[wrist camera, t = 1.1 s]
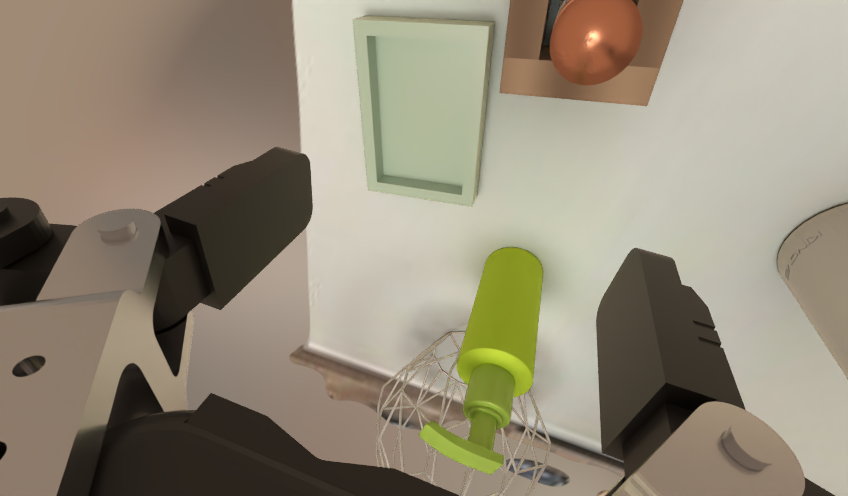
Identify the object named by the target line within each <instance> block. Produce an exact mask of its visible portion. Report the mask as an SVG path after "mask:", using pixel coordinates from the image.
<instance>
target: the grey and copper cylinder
mask: <svg viewBox="0 0 848 496" xmlns="http://www.w3.org/2000/svg"><path fill="white" fill-rule="evenodd" d="M642 32H643V23H642V18H641V15H640V12H639V10H638V8H637V6H636V5H635V3H634V2H633V1H632V0H561V2H560V6H559V9H558V13H557V16H556V20H555V23H554V27H553V30H552V34H551V38H550V56H551V59H552V62H553V65H554V67H555V68H556V70H557V71H558V73H559V74H560V75H561V76H562V77H563V78H565V79H566V80H568V81H570V82H572V83H575V84H578V85H596V84H600V83H603V82H606V81H608V80H610V79H612V78H614V77H615V76H617V75H618V74H619V73H621V72H622V71H623V70H624V69H625V68H626V67H627V66H628V65H629V64H630V62H631V61H632V60H633V58H634V56H635V55H636V53H637V51H638V49H639V46H640V43H641V39H642Z"/></svg>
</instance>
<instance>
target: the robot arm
mask: <svg viewBox="0 0 848 496" xmlns="http://www.w3.org/2000/svg"><path fill="white" fill-rule="evenodd" d="M312 209H313V205H312V187H311V170H310V161H309V159H308V157H307V156H306V155H305V154H302V153H298V152H295V151H291V150H287V149H284V148H280V147H275V148H273V149H271V150H269V151H268V152H266V153H264V154H263V155H261V156H260V157H258V158H256V159H255V160H253V161H250V162H246V163H243V164H239V165H236V166H233V167H231V168H230V169H228V170H226V171H225V172H223V173H221V174H220V175H218V177H217V178H213V179H211V180H209V181H207V182H206V183H205V185H204V186H202V185H201V186H199V187H197V188H196V189H194V190H192V191H190V192H189V193H187V194H185V195H184V196H182V197H180V198H179V199H177V200H175V201H173V202H172V203H170V204H168V205H167V206H165V207H163V208H162V209H160V210H158V211H156V212H155V213H152V212H149V211H146V210H141V209H120V210H114V211H109V212H105V213H102V214H99V215H96V216H94V217H91V218H89V219H87V220H86V221H84V222H83V223H81V224H79V225H78V226H72V225H59V224H49V223H48V221H47V219H46V218H45V216H44V214H43V212H42V211H41V209H40V207H39V205H38V204H37V203H35V202H34V201H31V200H29V199H24V198H0V496H459V495H457V494H454V493H452V492H450V491H447V490H445V489H442V488H440V487H438V486H435V485H433V484H430V483H428V482H425V481H423V480H421V479H418V478H415V477H413V476H411V475H408V474H406V473H404V472H401V471H399V470H396V469H394V468H385V467H375V466H367V465H358V464H350V463H340V462H332V461H325V460H321V459H319V458H316V457H315V456H314V455H312V454H311V453H310V452H309V451H308V450H307V449H305V448H304V447H303V446H302V445H301V444H299V443H298V442H297V441H296V440H295V439H294V438H292V437H291V436H290V435H289V434H288V433H286V432H285V431H284V430H283V429H282V428H280V427H279V426H278V425H277V424H276V423H274V422H273V421H272V420H271V419H270V418H269V417H267V416H265V415H263V414H260V413H258V412H256V411H253V410H251V409H248V408H246V407H244V406H241V405H239V404H236V403H234V402H231V401H229V400H227V399H224V398H222V397H219V396H217V395H215V394H212V393H211V394H210V395H209V396H208V397H207V398H206V399H205V401H204V402H203V403H202V404H201V405H200V406H199V408H198V409H197V410H188V404H187V398H186V382H187V374H188V366H189V358H190V350H191V341H192V334H193V326H194V315H193V311H192V309H193V308H194V307H195V306H197V305H198V304H199V303H203V304H205V305H208V306H211V307H214V308H216V309H219V310H221V309H222V308H223V307H224V306H225V305H226V304H227V303H229V301H231V299H232V298H234V297H235V296H236V295H237V294H238V293H239V292H240V291H241V290H242V289H243V288H244V287H245V286H246V285H247V284H248V283H249V282H250V281H251V280H252V279H253V278H254V277H255V276H257V274H259V273H260V272H261V271H262V270H263V269H264V268H265V267H266V266H267V265H268V264H269V263H270V262H271V261H272V260H273V259H274V258H275V257H276V256H277V255H278V254H279V253H280V252H281V251H282V250H283V249H284V248H285V247H286V246H287V245H289V243H291V242H292V241H293V240H294V239H295V238H296V237H297V236H298V235H299V234H300V233H301V232H302V231H303V230H304V229H305V228H306V226H307V225H308V223H309V221H310V218H311V215H312ZM777 265H778V271H779V273H780V275H781V276H782V278H783V280H784V281H785V283H786V285H787V286H788V288H789V289H790V291H791V292H792V294H793V295H794V297H795V298H796V300H797V301H798V303H799V304H800V306H801V308H802V310H803V311H804V313H805V314H806V316H807V317H808V319H809V320H810V322H811V323H812V325H813V326H814V328H815V330H816V331H817V333H818V334H819V336H820V337H821V339H822V340H823V342H824V343H825V345H826V346H827V348H828V349H829V351H830V353H831V354H832V356H833V357H834V359H835V360H836V362H837V363H838V365H839V366H840V368H841V369H842V371H843V372H844V374H845V376H846V377H847V379H848V204H845V205H841V206H838V207H835V208H832V209H830V210H828V211H825V212H823V213H820V214H818V215H817V216H815V217H813V218H811V219H810V220H808V221H806V222H805V223H803V224H802V225H801V226H800V227H798V228H797V229H796V230H795V231H793V232H792V233H791V235H790V236H789V237H788V238H787V239H786V240H785V242H784V243H783V245H782V247H781V249H780V251H779V254H778V259H777ZM596 327H597V351H598V374H599V398H600V421H601V445H602V453H604V454H607V455H609V456H612V457H615V458H617V459H620V460H623V461H624V470H625V476H624V477H623V478H622V479H620V481H618V482H617V483H616V484H615V485H614V486H613V488H612V489H611V490H610V491H609V492H608V493H607V494H606V495H605V496H835V495H833V494H831V493H830V492H828V491H826V490H825V489H823V488H821V487H820V486H818V485H816V484H815V483H813V482H811V481H810V480H808V479H807V478H805V477H804V474H803V470H802V468H801V465H800V463H799V461H798V460H797V458H796V456H795V454H794V453H793V452H792V450H791V449H790V447H789V446H788V445H787V444H786V443H785V441H784V440H783V439H782V438H781V437H780V436H779V435H778V434H777V433H776V432H775V431H774V430H773V429H772V428H771V427H769V426H768V425H767V424H766V423H765V422H763V421H762V420H760V419H759V418H758V417H756V416H754V415H753V414H751V413H749V412H748V411H746V410H745V407H744V404H743V402H742V399H741V396H740V393H739V391H738V388H737V385H736V382H735V380H734V377H733V374H732V372H731V369H730V366H729V363H728V361H727V358H726V355H725V353H724V350H723V348H721V347H720V345H721V342H720V339H719V336H718V333H717V331H715V330H714V328H715V325H714V323H713V320H712V317H711V314H710V312H709V309H708V307H707V306H706V304H705V303H704V302H703V301H702V300H701V298H700V297H699V296H698V295H697V294H696V292H695V291H694V290H693V289H692V288H691V287H688V286H685V285H682V284H681V281H680V277H679V274H678V271H677V268H676V265H675V262H674V260H673V259H672V258H670V257H667V256H663V255H660V254H656V253H653V252H649V251H645V250H642V249H638V248H634V249H633V250H631V251H630V253H629V254H628V255H627V257H626V259H625V260H624V262H623V264H622V265H621V267H620V269H619V270H618V272H617V274H616V275H615V277H614V279H613V281H612V282H611V284H610V286H609V287H608V289H607V291H606V292H605V294H604V296H603V298H602V300H601V302H600V305H599V308H598V312H597V319H596Z"/></svg>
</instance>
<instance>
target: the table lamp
mask: <svg viewBox="0 0 848 496" xmlns="http://www.w3.org/2000/svg"><path fill="white" fill-rule="evenodd" d="M462 333H466V331H463V332H450V333H448V334H447V335H445V336H444V337H442V338H441V339H439V340H438V341H436V342H435V343H434V344H432V345H431V346H430V347H429V348H427V349H426V350H425V351H424V352H422V353H421V354H420V355H419V356H417V357H416V358H415V359H414V360H413V361H411V362H410V363H409V364H408V365H406V366H405V367H404V368H403V369H402V370H400V371H399V372H398V373H397V374H396V375H395V376H394V377H392V378H391V379H390V380H389V381H388V382H387V383H385V384H384V385H383V386H382V389H381V393H380V397H379V401H378V406H377V426H376V461H377V465H378V467H380V464H379V460H378V447H379V452H380V457H381V462H382V467H385V465H384V460H383V455H382V450H381V446H380V442H381V445H382V449H383V452H384V455H385V458H386V462H387V464H388V468H390V464H389V461H388V458H387V455H386V452H385V449H384V446H383V442H382V439H381V436H382V434H383V432H384V430H385V428H386V426H387V424H388V422H389V420H390V418H391V416H392V414H393V412H394V410H395V409H400V415H399V429H398V430H399V432H398V434H397V438H396V442H395V446H394V451H393V465H392V468H394V462H395V450H396V446H397V442H398V438H399V444H400V457H401V470H402V472H404V463H403V449H402V436H401V431H402V429H403V428H404V426H405V425H406V423H407V422H408V420H409V419H410V417H411V416H412V414H413V413H414V411H415V410H417V412H418V416H419V420H420V424H421V428H422V429H423V425H422V421H421V417H420V414H421V415H422V417H423V418H424V419H425V420H426V421H427V422H430V420H429V419H428V418H427V417H426V416H425V415H424V414H423V413H422V412H421V410H420V409H419V408H418V406H420V405H421V404H423V403H425V402H426V401H428V400H430V399H432V398H433V397H435V396H437V395H438V394H440V393H442V392H443V391H445V392H444V397H443V402H442V408H441V413H440V419H439V425H440V426H441V425H442V423H443V420H444V418H445V415H446V413H447V410H448V408H449V405H450V403H451V400H452V397H453V395H454V392H455V390H456V387H457V386H458V389H459V393H460V396H461V400H462V404H464V401H463V397H462V394H461V390H460V387H459V384H461V385H464V386H467V387H468V385H467V384H463V383H460V382H458V381H456V380H455V379H454V378H452V377H451V373H452V370H453V368H454V366H455V364H456V362H457V361H458V357H459V354H460V350H461V349H460V348H459V346H458V344H457V343H456V341H455V339H454V338H453V336H452V334H462ZM449 335H450V336H451V338H452V339H453V341H454V343H455V345H456V346H457V348H458V350H459V352H456V353H453V354H450V355H448V356H445V357H442V358H439V359H437V360H436V358H435V356H434V355H435V350H436V346H437V345H439V344H440V343H441V342H442V341H443V340H444V339H446V338H447V337H448V336H449ZM433 349H434V352H433V356H431V357H428V358H425V359H423V358H424V357H425V356H426V355H427V354H428V353H429V352H430V351H432V350H433ZM457 354H458V356H457V358H456V360H455V361H454V363H453V365H452V367H451V369H450V372H449V375H448V374H447V373H445V372H444V371H443V370H442V369H441V367H440V366H439V364H438V361H440V360H443V359H446V358H449V357H451V356H454V355H457ZM421 356H422V357H421ZM420 357H421V358H420ZM419 358H420V359H419ZM433 358H434V361H433ZM417 359H418V360H417ZM422 359H423V360H422ZM428 359H429V360H428ZM416 360H417V361H416ZM425 360H428V361H427V362H426V363H425V364H423V365H420V366H417V367H414V366H415V365H416V364H417V363H420V362H423V361H425ZM430 360H431V361H430ZM415 361H416V362H415ZM429 361H430V362H429ZM413 362H415V363H413ZM435 362H436V364H437V365H438V367H439V369H440V371H439V373H438V374H437V376H436V377H435V378H434V380H433V381H432V383H431V384H430V386H429V387H428V389H427V390H426V392H425V393H424V395H423V396H422V398H421V399H420V397H421V394H422V391H423V388H424V385H425V382H426V379H427V376H428V373H429V370H430V367H431V364H432V363H435ZM427 365H429V367H428V370H427V373H426V377H425V380H424V383H423V386H422V389H421V392H420V395H419V398H418V401H417V404H416V405H415V404H414V403H413V401H412V400H411V399H410V398H409V397H408V396H407V395H406V394H405V392H404V388H405V386H406V385H407V384H408V383H409V382H410V381H411V380H412V379H413V378H414V377H415V375H416V374H417V373H418V372H419V371H420V370H421V369H422V368H423V367H424V366H427ZM410 366H411V367H410ZM408 367H410V368H409V369H408ZM413 367H414V368H413ZM419 368H420V369H419ZM416 369H419V370H418V371H417V372H416V373H415V374H414V375H413V376H412V377H411V378H410V379H409V380H408V381H407V382H406V380H407V376H408V372H410V371H413V370H416ZM405 370H406V374H405V378H404V382H403V386H402V387H401V388H400V389H399V390H398V391H397V392H396V394H395V395H394V396H393V397H392V398H391V399H390V400H389V398H390V396H391V394H392V393H393V391H394V389H395V388H396V386H397V384H398V382H399V381H400V379H401V377H402V375H403V374H404V372H405ZM402 371H403V372H402ZM401 372H402V373H401ZM441 372H443V373H444V374H445V375H447V376H448V380H447V384H446V388H445V389H444V390H442V391H440V392H438V393H437V394H435V395H433V396H432V397H430V398H428V399H426V400H425V401H423V402H421V401H422V399H423V398H424V396H425V395H426V393H427V392H428V391H429V389H430V388H431V386H432V385H433V383H434V382H435V380H436V379H437V377H438V376H439V374H440V373H441ZM400 373H401V375H400V377H399V379H398V380H397V382H396V384H395V386H394V387H393V389H392V391H391V392H390V394H389V396H388V398H387V399H386V401H385V403H384V405H383V406H382V408H381V411H380V402H381V398H382V394H383V390H384V387H385V386H386V385H388V384H389V383H390V382H391V381H392V380H393V379H394V378H396V377H397V376H398V375H399V374H400ZM450 378H451V379H452V380H453V381H455V382H456V383H454V384H452V385H450V386H449V387H448V385H449V381H450ZM455 384H456V385H455ZM454 385H455V388H454V390H453V393H452V395H451V398H450V400H449V403H448V405H447V408H446V410H445V413H444V415H443V411H444V406H445V400H446V395H447V389H449V388H450V387H452V386H454ZM400 391H401V393H400V395H399V397H398V399H397V401H396V403H395V405H394V407H390V408H385V407H386V406H387V405H388V404H389V403H390V401H391V400H392V399H393V398H394V397H395V396H396V395H397V394H398V393H399V392H400ZM528 392H529V394H530V397H531V400H532V403H533V405H534V408H535V411H536V413H537V417H536V421H535V426H534V430H531V429H530V428H528V422H527V414H526V405H525V397H524V394H523V404H524V411H523V407H522V404H521V400H520V397H519V396H517V397H518V400H519V404H520V407H521V411H522V415H523V418H524V421H523V420H522V419H521V417H520V416H519V414H518V413H517V412H516V410H515V409H514V408H513V406H512V409H513V411H514V412H515V414H516V415H517V416H518V418H519V419H520V420H521V422H522V423H523V424H524V426H525V427H526V429H525V431H524V433H523V435H522V437H521V439H520V441H519V444H518V446H517V448H516V450H515V452H514V454H513V456H512V453H511V450H510V447H509V444H508V441H507V438H506V435H505V432H504V429H503V428H501V431H502V441H503V456H504V469H503V468H502V467H500V468H501V470H502V471H503V472H504V473H505V474H504V478H503V482H502V487H501V490H500V491H497V492H495V493H493V494H490V495H488V496H494V495H496V494H499V495H498V496H502V495H504V496H506V495H505V493H504V492H505V490H506V489H507V488H508V486H509V485H510V483H511V482H512V481H513V479H514V478H515V476H516V475H517V474H518V473H522V472H526V471H530V470H534V469H535V470H534V474H533V478H532V482H531V485H530V487H529V488H528V490H527V492H526V494H525V496H530V495H531V493H532V491H533V489H534V487H535V485H536V484H537V482H538V480H539V478H540V476H541V475H542V473H543V471H544V469H545V467H546V465H547V460H548V456H549V451H550V447H551V441H550V439H549V436H548V434H547V431H546V428H545V426H544V423H543V421H542V418H541V416H540V413H539V410H538V408H537V406H536V403H535V401H534V398H533V396H532V394H531V391H530V389H529V390H528ZM403 395H404V396H405V397H406V399H407V400H408V401H409V402H410V403H411V404H412V405H413V406H403ZM400 398H401V401H400V407H396V406H397V404H398V402H399V400H400ZM388 400H389V401H388ZM387 401H388V402H387ZM420 402H421V403H420ZM411 407H414V409H413V411H412V412H411V414H410V415H409V417H408V418H407V420H406V421H405V423H404V425H403V426H402V428H401V421H402V408H411ZM389 409H392V411H391V413H390V415H389V417H388V419H387V421H386V424H385V425H384V427H383V429H382V431H381V433H379V422H380V418H381V415H382V411H383V410H389ZM524 413H525V415H524ZM442 417H443V418H442ZM538 419H539V420H540V422H541V425H542V427H543V430H544V433H545V435H546V438H547V440H548V441H547V440H546V439H544V438H543V437H541V436H540V435H539V434H537V433H536V428H537V424H538ZM469 421H470V420H468V419H467V420H464V421H462V422H459V423H457V424H454V425H452V426H449V427H447V428H444V429H446V430H449V429H452V428H454V427H456V426H459V425H461V424H463V423H466V422H468V425H469V429H470V428H471V426H470V422H469ZM524 422H525V423H524ZM529 430H530V431H531V432H532V433H533V435H532V438H531V437H530V433H529ZM526 432H527V433H528V437H529V441H530V442H529V444H528V446H527V448H526V450H525V452H524V454H523V456H522V459H521V461H520V463H519V465H518V467H517V468H516V465H515V462H514V456H515V455H516V453H517V450H518V448H519V446H520V444H521V442H522V440H523V438H524V436H525V434H526ZM535 435H537V436H538V437H540V438H541V439H542V440H544V441H545V442H547V443H548V444H549V445H548V449H547V454H546V458H545V463H544V464H543V465H539V466H538V464H537V460H536V456H535V452H534V448H533V445H532V442H533V439H534V437H535ZM468 437H469V435H468V436H465V437H463V438H462V439H466V438H468ZM504 440H505V443H506V446H507V449H508V452H509V455H510V458H511V460H510V462H509V464H508V466H507V469H506V459H505V446H504ZM425 444H426V448H427V452H428V458H427V462H426V466H425V470H424V471H423V472H417V473H412V474H408V475H411V476H412V475H417V474H422V473H424V475H423V481H425V474H426V475H427V477H428V478H429V479H430V480H431V483H430V484H434V485H435V486H437V485H436V484H435V482H434V481H433V480H434V472H435V465H436V457H437V452H439V451H437V450H436V449H435V451H434V452H432V453H431V451H432V449H433V447H432V446H431V449H430V451H429V449H428V445H427V442H425ZM530 446H531V448H532V453H533V457H534V461H535V464H536V465H535V467H531V468H527V469H523V470H519V469H520V467H521V465H522V463H523V461H524V459H525V456H526V454H527V452H528V450H529V448H530ZM432 454H434V461H433V468H432V476H431V477H430V476H429V475H428V474H427V472H426V469H427V465H428V461H429V457H430V455H432ZM511 463H512V464H513V467H514V470H515V473H514V474H513V476H512V477H511V479H510V480H509V481H508V483H507V484H506V485H505V487H504V482H505V478H506V473H507V471H508V469H509V467H510V465H511ZM538 468H542V469H541V471H540V472H539V474H538V475H537V477H536V479H535V475H536V470H537V469H538ZM475 470H476V469H474V468H473V469H472V472H471V474H470V477H469V479H468V482H467V484H466V486H465V489H464V491H463V488H464V484H465V480H466V475H467V471H468V466H466V471H465V476H464V480H463V484H462V488H461V491H460V495H459V496H461V494H462V491H463V494H462V496H465V494H466V491H467V489H468V487H469V484H470V482H471V479H472V477H473V475H474V472H475ZM534 479H535V480H534ZM503 487H504V488H503Z"/></svg>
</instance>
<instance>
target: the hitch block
mask: <svg viewBox="0 0 848 496" xmlns="http://www.w3.org/2000/svg"><path fill="white" fill-rule="evenodd" d="M632 1H633V2H634V3H635V5H636V6H637V8H638V10H639V12H640V15H641V18H642V23H643V32H642V39H641V43H640V46H639V49H638V51H637V53H636V55H635V56H634V58H633V60H632V61H631V62H630V64H629V65H628V66H627V67H626V68H625V69H624V70H623V71H622V72H621V73H619V74H618V75H617V76H615V77H614V78H612V79H610V80H608V81H606V82H603V83H600V84H596V85H578V84H575V83H572V82H570V81H568V80H566V79H565V78H563V77H562V76H561V75H560V74H559V73H558V71H557V70H556V68H555V67H554V65H553V62H552V59H551V56H550V46H543V45H544V39H545V33H546V27H547V22H548V16H549V10H550V4H551V0H510V9H509V17H508V26H507V34H506V43H505V51H504V59H503V68H502V76H501V85H500V93H506V94H518V95H529V96H540V97H551V98H562V99H573V100H585V101H596V102H607V103H618V104H629V105H641V106H647V105H648V102H649V99H650V96H651V93H652V90H653V87H654V84H655V81H656V79H657V76H658V73H659V70H660V67H661V64H662V61H663V58H664V55H665V52H666V49H667V46H668V44H669V41H670V38H671V35H672V32H673V29H674V26H675V23H676V20H677V17H678V14H679V12H680V9H681V6H682V3H683V0H632Z"/></svg>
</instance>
